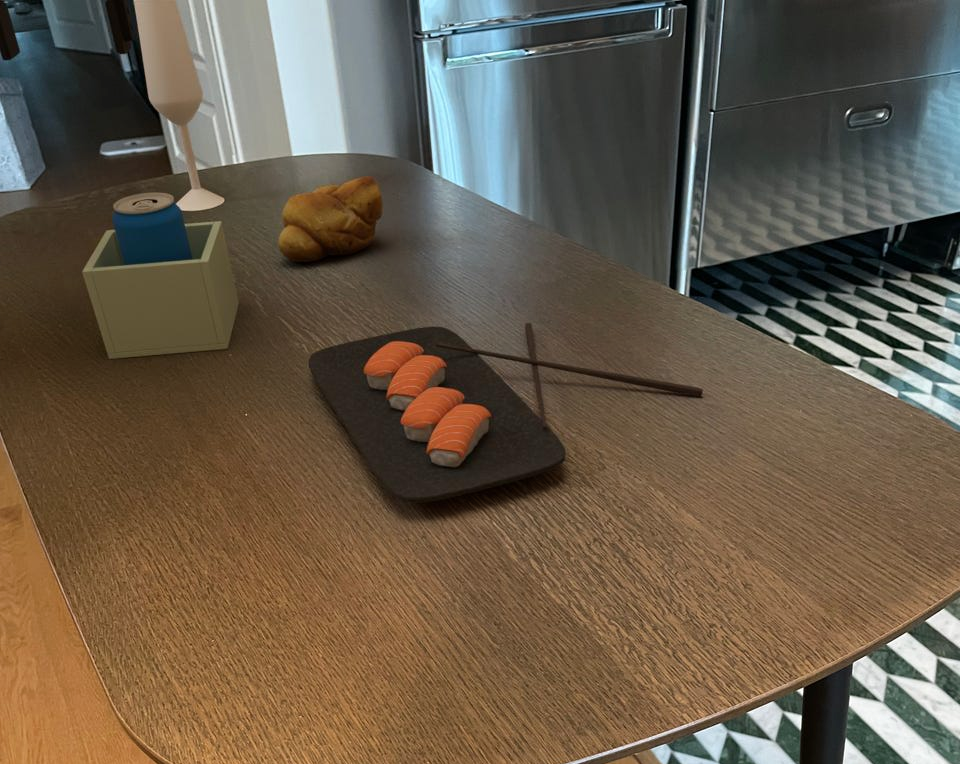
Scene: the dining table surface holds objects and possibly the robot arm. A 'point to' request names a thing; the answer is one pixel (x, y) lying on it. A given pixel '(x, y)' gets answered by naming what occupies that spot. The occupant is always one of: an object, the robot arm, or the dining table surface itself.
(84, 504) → the dining table surface
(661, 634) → the dining table surface
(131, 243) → the beverage can
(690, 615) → the dining table surface
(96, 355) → the dining table surface
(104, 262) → the trash bin
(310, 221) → the bread roll
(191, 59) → the champagne flute
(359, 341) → the sushi plate
